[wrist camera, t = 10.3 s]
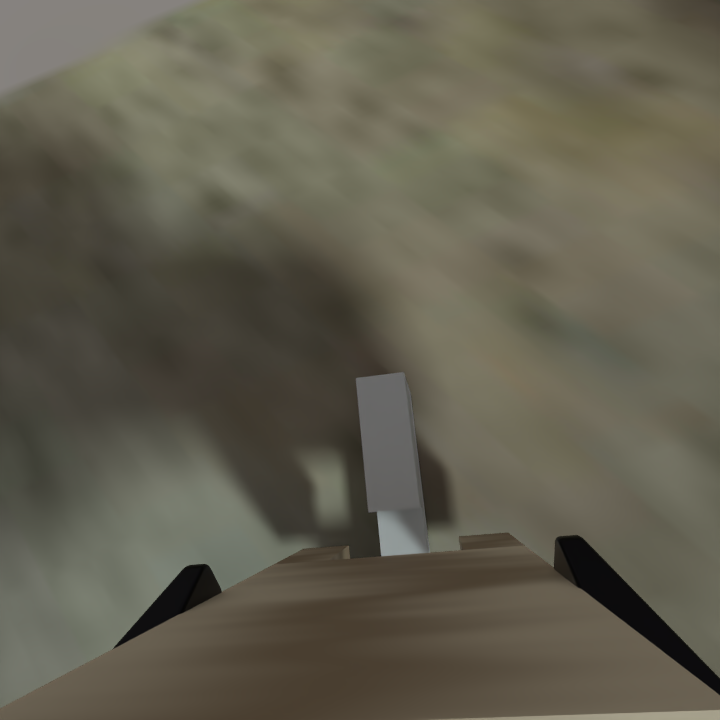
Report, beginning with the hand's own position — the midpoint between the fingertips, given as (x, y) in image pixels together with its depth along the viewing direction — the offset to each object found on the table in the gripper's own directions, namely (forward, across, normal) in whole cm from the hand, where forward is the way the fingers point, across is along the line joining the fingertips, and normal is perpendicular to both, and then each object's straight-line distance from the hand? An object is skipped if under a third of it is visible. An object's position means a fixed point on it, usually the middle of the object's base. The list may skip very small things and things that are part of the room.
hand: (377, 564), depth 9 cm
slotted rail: (+5, 0, +7) cm, 9 cm away
